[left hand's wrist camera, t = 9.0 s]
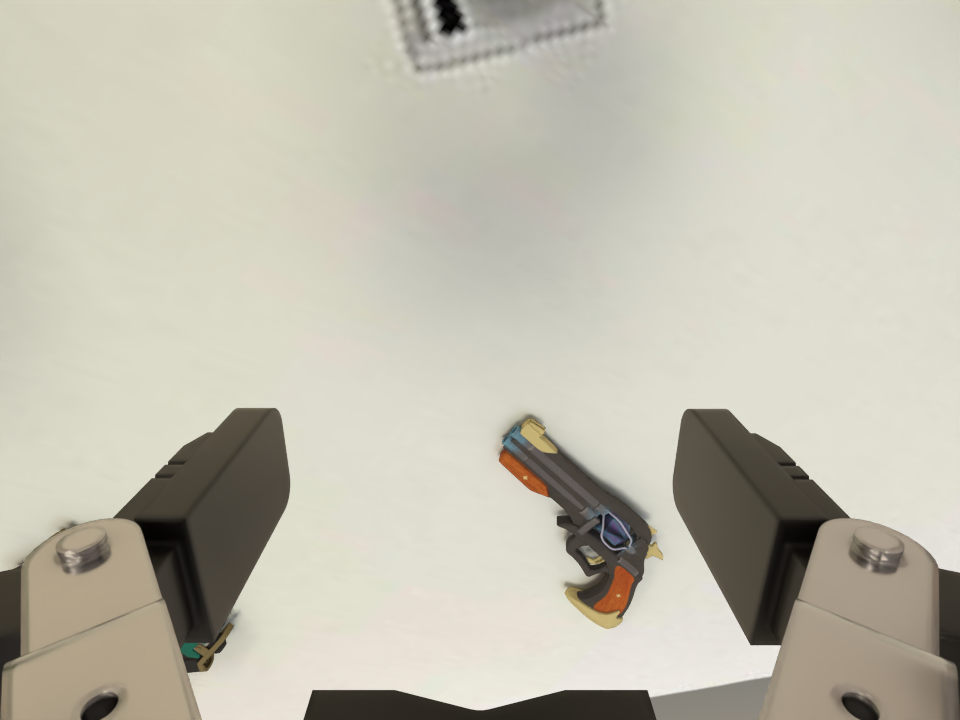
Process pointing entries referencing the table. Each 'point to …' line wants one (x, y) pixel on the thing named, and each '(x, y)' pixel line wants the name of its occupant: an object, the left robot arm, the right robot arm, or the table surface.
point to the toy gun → (585, 523)
